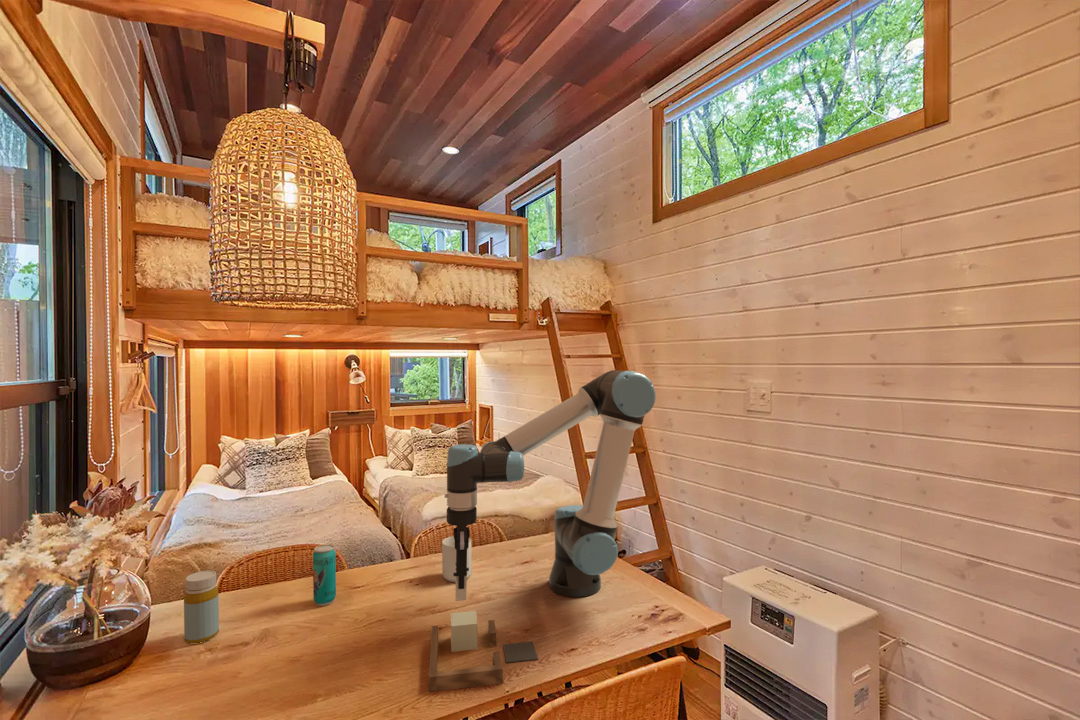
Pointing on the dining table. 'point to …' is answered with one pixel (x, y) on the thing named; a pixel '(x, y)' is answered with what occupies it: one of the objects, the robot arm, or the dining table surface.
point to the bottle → (201, 607)
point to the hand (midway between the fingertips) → (460, 599)
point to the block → (463, 631)
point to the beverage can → (324, 575)
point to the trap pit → (520, 652)
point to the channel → (464, 676)
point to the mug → (453, 559)
